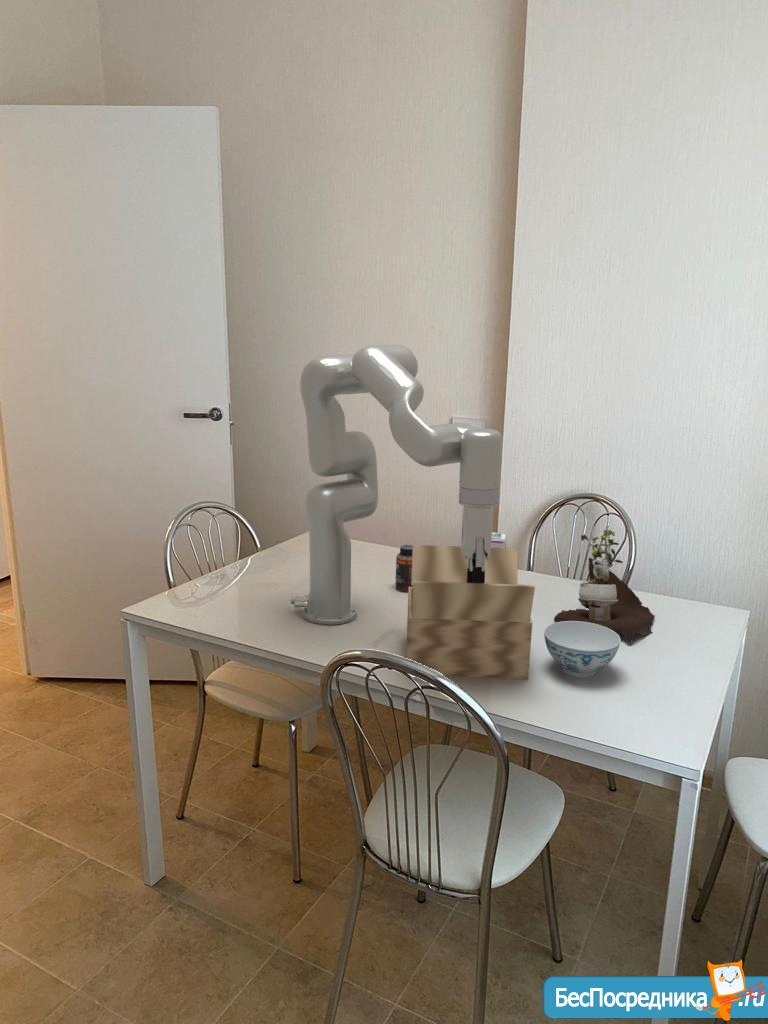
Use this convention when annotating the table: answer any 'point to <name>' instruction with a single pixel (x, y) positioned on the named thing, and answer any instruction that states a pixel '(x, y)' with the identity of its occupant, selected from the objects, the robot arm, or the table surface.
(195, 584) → the table surface
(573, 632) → the chinaware
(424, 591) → the front flap
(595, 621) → the potted plant
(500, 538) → the syrup box
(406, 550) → the supplement bottle
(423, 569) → the back flap
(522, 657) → the carton
